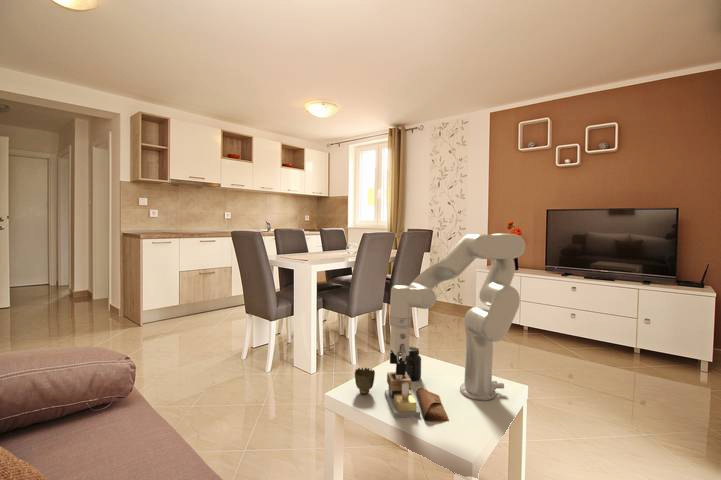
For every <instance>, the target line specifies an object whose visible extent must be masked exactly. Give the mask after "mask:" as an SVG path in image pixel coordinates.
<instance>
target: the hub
mask: <svg viewBox="0 0 721 480" xmlns="http://www.w3.org/2000/svg"><path fill="white" fill-rule="evenodd" d="M409 393H410V390H409V384H408V383H406V382H404V383H403V384H402V394H394V404H395V407H396V409H397V411H398V412H416V405H417V401H416V399H415V397H414V395H413V393H410V394H409Z"/></svg>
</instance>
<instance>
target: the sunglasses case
mask: <svg viewBox="0 0 721 480" xmlns="http://www.w3.org/2000/svg"><path fill="white" fill-rule="evenodd" d="M415 394H416V397H417V401H418V403H419V407H420V409H421V413H422V417H423V419H424V420H425V422H434V423H435V422H436V423H437V422H439V423H440V422H450V419H449V416H448V414H447V412H446V410H445V408H444V406H443V403H442V400H441V397H440V394H439V395H438V394H436V393H434V392H431V391H429V390H428V389H425V388H424V387H421V386H419V387H417V389H416V390H415Z"/></svg>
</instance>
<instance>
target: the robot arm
mask: <svg viewBox="0 0 721 480" xmlns="http://www.w3.org/2000/svg"><path fill="white" fill-rule="evenodd" d="M525 250H526V242H525V240H524V238H523V237H522V236H520V235H519V234H515V233H503V232H502V233H500V232H499V233H498V232H497V233H492V234H481V233H468V234H465V235H464V236H463V237H462V238H460V240H458V242H457V243H456V244H454V246H453V247H452V248H451V249H450V250H448V252H447V253H446V254H445V255H444V256H443V257H442V258H441V259H440V260H439V261H437V262H435V263H433V264H432V265H430V266H429V267H427V268H426V269H425V270H423V271H421V273H419V275H418V276H417V277H416V278H415V279H414V280H413V281H412V282H411V283H409V285H405V284H404V285H402V284H397V285H393V286H392V287H391V288H390V303H389V318H388V319H389V320H388V321H389V322H388V325H389V326H391V327H390V338H389V346H390V353H389V354H390V355H389V364H390V365H395V372H396V375H405V371H406V356H409V347H410V327H411V323H412V308H417V309H423V310H425V309H430V308H432V307H434V305H435V304H436V303H437V294H436V292H435V291H434V290H432V289H433V288H435V287H436V286H437V285H439V284H441V283H443V282H446V281H449V280H454V279H456V278H458V277H459V276H460V275H461V274H462V273H463V272H465V270H466V269H467V268H468V267H469V266H470V265H471V264H472V263H474V261H475V260H476V259H479V260H490V268H489V270H488V272H487V273H488V274H487V275H486V277H485V280H484V282H483V284H482V286H481V289H480V290H479V297H478V298H479V300H480V302H481V303H482V304H483V305H485V306H487V307H489V309H487V308H484V307H481V306H473V307H471V308H470V309H468V310H467V312H466V313H465V315H464V321H463V322H464V331H465V355H464V357H465V359H464V383H462V384H460V386H459V392H460V393H461V394H462V395H463V396H466V397H467V398H470V399H473V400H477V401H491V400H492V399H494V398H496V394H497V391H496V390H497V389H505V384H504V383H503V382H498V381H497V380H493V379H492V378H493V356H494V355H493V354H494V343H497V342H500V341H501V340H503V339H504V338H505V336H506V335H507V334H508V332H509V329H510V328H511V325H512V324H513V321H514V319H515V317H516V314H517V312H518V310H519V308H520V304H521V302H520V301H521V298H520V294H519V292H518V290H516V288H515V287H513V286H511V284H512V281H513V278H514V277H515V276H514V275H515V273H516V266H515V265H516V264H515V261H514V259H518V258H519V257H520V256H522V255H523V254H524V253H525Z"/></svg>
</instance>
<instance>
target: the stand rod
mask: <svg viewBox="0 0 721 480" xmlns="http://www.w3.org/2000/svg"><path fill="white" fill-rule="evenodd" d="M396 379H402V375H396ZM387 390H388V391H389V393H390V395H391V398H392V399H394V394H402V390H401V391H391V390H390V387H389V386H388V389H387Z"/></svg>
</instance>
